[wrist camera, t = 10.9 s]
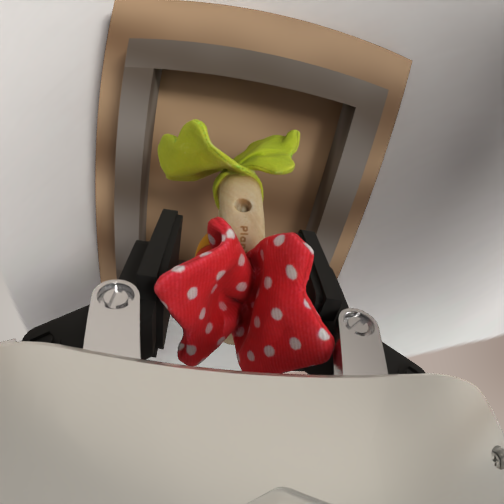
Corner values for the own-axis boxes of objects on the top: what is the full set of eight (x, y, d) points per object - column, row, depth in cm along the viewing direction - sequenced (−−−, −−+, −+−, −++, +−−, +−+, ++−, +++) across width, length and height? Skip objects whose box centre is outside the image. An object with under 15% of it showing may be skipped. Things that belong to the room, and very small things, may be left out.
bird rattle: (275, 209, 20) (298, 78, 12) (327, 389, 14) (430, 332, 7) (173, 222, 19) (148, 88, 11) (198, 415, 13) (153, 395, 6)
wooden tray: (123, 3, 13) (101, -6, 10) (400, 59, 16) (430, 62, 13) (107, 279, 24) (93, 309, 21) (314, 307, 26) (323, 338, 23)
